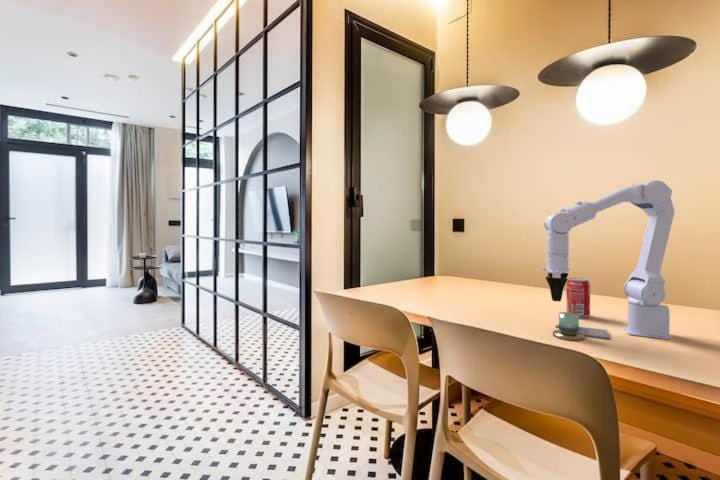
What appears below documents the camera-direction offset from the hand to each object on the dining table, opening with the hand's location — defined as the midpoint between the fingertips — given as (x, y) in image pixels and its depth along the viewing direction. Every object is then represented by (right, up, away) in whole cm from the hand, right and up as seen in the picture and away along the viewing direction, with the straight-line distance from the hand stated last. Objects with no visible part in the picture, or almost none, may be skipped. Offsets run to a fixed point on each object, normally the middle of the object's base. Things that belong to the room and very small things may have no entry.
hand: (557, 298), depth 111 cm
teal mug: (+1, -8, -5) cm, 10 cm away
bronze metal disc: (+1, -10, -5) cm, 11 cm away
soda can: (+16, -9, +17) cm, 25 cm away
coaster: (+9, -10, -3) cm, 14 cm away
